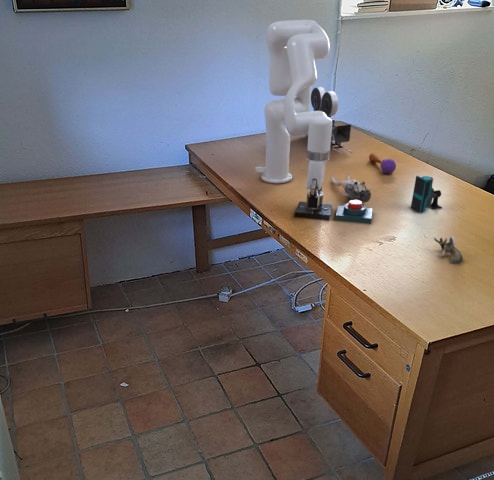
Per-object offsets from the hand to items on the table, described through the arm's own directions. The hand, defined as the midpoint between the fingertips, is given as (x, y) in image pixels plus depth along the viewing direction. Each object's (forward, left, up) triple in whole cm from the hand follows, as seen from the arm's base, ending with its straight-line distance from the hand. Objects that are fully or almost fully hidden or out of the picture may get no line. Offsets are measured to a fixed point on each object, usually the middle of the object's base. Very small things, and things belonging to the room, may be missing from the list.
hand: (314, 202), depth 196 cm
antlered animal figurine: (+44, -23, -4) cm, 49 cm away
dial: (0, 0, -2) cm, 2 cm away
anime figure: (+12, +21, -4) cm, 24 cm away
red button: (+14, 0, -1) cm, 14 cm away
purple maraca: (+21, +55, -4) cm, 59 cm away
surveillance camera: (+39, +14, -4) cm, 41 cm away
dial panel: (0, 0, -4) cm, 4 cm away
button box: (+14, 0, -4) cm, 15 cm away
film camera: (-6, +83, -4) cm, 83 cm away
